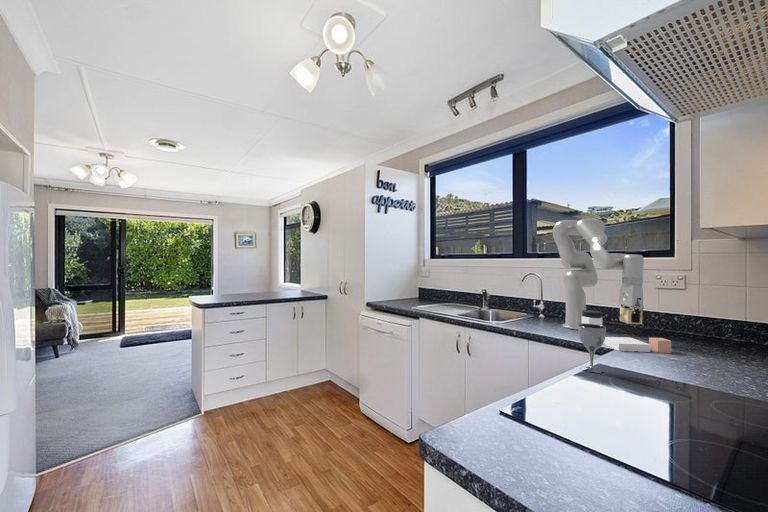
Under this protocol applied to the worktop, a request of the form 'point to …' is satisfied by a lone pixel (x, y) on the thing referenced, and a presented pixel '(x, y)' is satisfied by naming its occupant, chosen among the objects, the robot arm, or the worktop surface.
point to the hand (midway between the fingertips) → (630, 320)
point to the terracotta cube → (660, 345)
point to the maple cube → (628, 315)
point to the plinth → (627, 344)
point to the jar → (591, 317)
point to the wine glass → (592, 338)
